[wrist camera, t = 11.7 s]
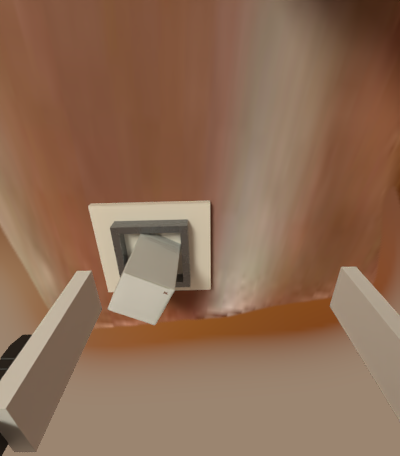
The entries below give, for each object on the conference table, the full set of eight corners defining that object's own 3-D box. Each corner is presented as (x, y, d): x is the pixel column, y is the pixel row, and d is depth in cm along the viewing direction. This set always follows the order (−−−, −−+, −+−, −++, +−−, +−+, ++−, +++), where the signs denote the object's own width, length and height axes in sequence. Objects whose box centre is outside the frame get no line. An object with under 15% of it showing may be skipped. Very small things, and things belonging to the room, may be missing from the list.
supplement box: (142, 226, 43) (123, 270, 32) (182, 243, 45) (176, 291, 33) (127, 259, 46) (105, 310, 35) (165, 273, 48) (155, 327, 36)
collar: (114, 221, 43) (109, 227, 40) (187, 219, 43) (187, 225, 40) (125, 280, 48) (122, 288, 46) (190, 278, 48) (190, 287, 46)
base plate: (91, 203, 42) (88, 206, 41) (209, 200, 42) (210, 203, 41) (110, 288, 50) (108, 292, 49) (210, 285, 50) (210, 289, 49)
